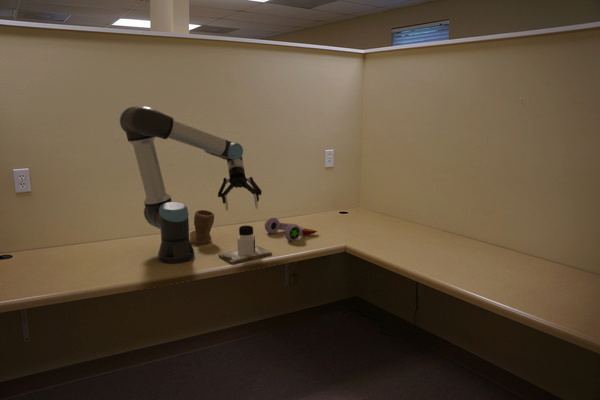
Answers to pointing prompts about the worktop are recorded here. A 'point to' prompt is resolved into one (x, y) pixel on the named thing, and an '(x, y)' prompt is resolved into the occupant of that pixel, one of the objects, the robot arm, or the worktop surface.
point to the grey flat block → (235, 258)
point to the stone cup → (202, 226)
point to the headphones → (287, 229)
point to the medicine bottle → (246, 241)
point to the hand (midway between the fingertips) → (242, 208)
